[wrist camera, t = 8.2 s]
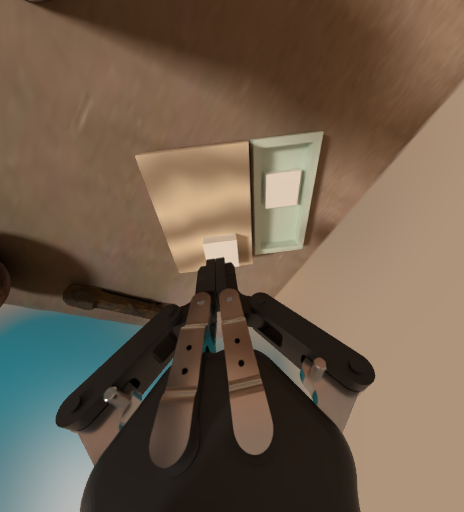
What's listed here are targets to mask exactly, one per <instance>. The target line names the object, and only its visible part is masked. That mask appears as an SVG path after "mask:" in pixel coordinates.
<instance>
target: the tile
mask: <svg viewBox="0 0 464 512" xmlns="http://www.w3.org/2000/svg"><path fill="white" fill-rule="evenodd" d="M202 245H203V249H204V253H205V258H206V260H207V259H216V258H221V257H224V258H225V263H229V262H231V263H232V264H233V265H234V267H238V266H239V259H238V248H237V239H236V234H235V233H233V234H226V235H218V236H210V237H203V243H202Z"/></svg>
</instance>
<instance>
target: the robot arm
mask: <svg viewBox="0 0 464 512" xmlns="http://www.w3.org/2000/svg"><path fill="white" fill-rule="evenodd" d="M28 1H34V2H43V1H46V0H28ZM197 276H198V277H197V284H196V292H195V295H194V296H193V298H192V299H191V302H190V303H188V304H186V305H184V306H181V307H179V306H177V305H175V304H171V305H168V306H166V307H164V308H163V309H162V310H161V311H160V312H159V313H157V314H156V315H155V316H154V317H153V318H152V319H151V320H150V321H149V322H148V323H147V324H146V325H145V326H144V327H143V328H142V329H140V330H139V331H138V332H137V333H136V334H135V335H134V336H133V337H132V338H131V339H130V340H129V341H127V342H126V343H125V344H124V345H123V346H122V347H121V348H120V349H119V350H118V351H117V352H116V353H114V354H113V355H112V356H111V357H110V358H109V359H108V360H107V361H106V362H105V363H104V364H103V365H102V366H101V367H99V368H98V369H97V370H96V371H95V372H94V373H93V374H92V375H91V376H90V377H89V378H88V379H87V380H85V382H83V383H82V384H81V385H80V386H79V387H78V388H77V389H76V390H75V391H74V392H73V393H71V394H70V395H69V396H68V397H67V399H66V400H65V401H64V402H63V403H62V405H61V406H60V408H59V410H58V412H57V415H56V424H57V426H59V427H61V428H65V429H68V430H70V431H72V432H75V433H78V435H79V436H80V438H81V440H82V443H83V444H84V446H85V448H86V450H87V452H88V454H89V456H90V458H91V460H92V462H93V464H94V468H93V470H92V472H91V474H90V477H89V479H88V481H87V484H86V487H85V490H84V493H83V497H82V501H81V508H80V512H360V507H359V500H358V492H357V474H356V467H355V463H354V459H353V456H352V453H351V450H350V447H349V445H348V443H347V441H346V439H345V437H344V436H343V434H342V432H343V430H344V428H345V425H346V423H347V420H348V418H349V415H350V413H351V410H352V408H353V406H354V403H355V401H356V398H357V396H359V395H360V394H361V393H362V392H363V391H364V390H365V389H366V388H367V387H368V386H369V385H370V384H371V383H372V382H373V381H374V379H375V372H374V369H373V367H372V365H371V364H370V362H369V361H368V360H367V359H366V358H365V357H363V356H362V355H360V354H359V353H357V352H356V351H354V350H353V349H351V348H350V347H348V346H347V345H345V344H343V343H342V342H340V341H339V340H337V339H336V338H334V337H333V336H331V335H329V334H328V333H326V332H325V331H323V330H322V329H320V328H318V327H317V326H316V325H314V324H312V323H311V322H309V321H308V320H306V319H305V318H303V317H302V316H300V315H298V314H297V313H295V312H294V311H292V310H291V309H289V308H288V307H286V306H285V305H283V304H281V303H280V302H278V301H277V300H275V299H274V298H272V297H271V296H269V295H268V294H266V293H261V292H259V293H255V294H254V295H252V297H251V296H245V295H243V294H241V293H240V292H239V291H238V287H237V281H236V274H235V267H234V265H233V264H232V263H231V262H229V263H225V258H224V257H221V258H216V259H207V260H206V266H201V267H200V269H199V270H198V275H197ZM219 311H221V319H222V323H221V325H222V334H223V341H224V350H222V351H219V352H217V353H216V333H217V312H219ZM248 326H249V327H253V329H254V330H255V331H256V332H257V333H258V334H260V335H261V336H262V337H263V338H264V339H265V340H267V341H268V342H269V343H270V344H271V345H273V346H274V347H275V348H276V349H277V350H278V351H279V352H281V353H282V354H283V355H284V356H285V357H287V358H288V359H289V360H290V361H291V362H292V363H294V364H295V365H296V366H297V367H298V368H299V369H300V379H301V381H302V384H303V385H304V386H305V388H306V389H307V390H308V391H309V393H310V394H311V396H312V399H313V401H312V400H311V399H310V398H309V397H308V396H307V395H306V394H305V393H304V392H303V391H302V390H301V389H300V388H299V387H298V386H297V385H296V384H295V383H294V382H293V381H292V380H291V379H290V378H289V377H288V376H287V375H286V374H285V373H284V372H283V371H282V370H281V369H280V368H279V367H278V366H277V365H276V364H275V363H274V362H273V361H272V360H271V359H270V358H269V357H267V356H266V355H264V354H263V353H262V352H260V351H257V350H254V349H253V346H252V342H251V338H250V334H249V330H248ZM173 357H174V358H173ZM172 358H173V362H172V365H171V366H170V367H169V368H168V369H167V371H166V372H165V373H164V374H163V375H162V377H161V378H160V379H159V381H158V382H157V383H156V384H155V386H154V387H153V388H152V390H151V391H150V392H149V394H148V395H147V396H146V397H145V399H144V400H143V401H142V395H143V394H144V392H145V391H146V390H147V389H148V387H149V386H150V385H151V384H152V383H153V381H154V380H155V379H156V378H157V376H158V375H159V374H160V373H161V372H162V370H163V369H164V368H165V367H166V366H167V364H168V363H169V362H170V361H171V359H172ZM141 402H142V403H141Z"/></svg>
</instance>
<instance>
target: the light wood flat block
mask: <svg viewBox="0 0 464 512" xmlns="http://www.w3.org/2000/svg"><path fill="white" fill-rule="evenodd" d="M135 158H136V160H137V163H138V166H139V168H140V171H141V174H142V176H143V179H144V181H145V184H146V187H147V189H148V192H149V195H150V197H151V200H152V203H153V205H154V208H155V210H156V213H157V216H158V218H159V221H160V224H161V226H162V229H163V232H164V234H165V237H166V239H167V242H168V245H169V247H170V250H171V253H172V255H173V258H174V261H175V263H176V266H177V269H178V271H179V273H185V272H193V271H198V270H199V269H200V267H201V266H206V258H205V253H204V249H203V245H202V243H203V237H210V236H218V235H226V234H233V233H235V234H236V239H237V248H238V259H239V265H247V264H252V233H251V202H250V170H249V142H247V141H244V140H239V141H231V142H223V143H214V144H206V145H198V146H190V147H181V148H173V149H165V150H157V151H148V152H145V153H142V154H139V155H135Z"/></svg>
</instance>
